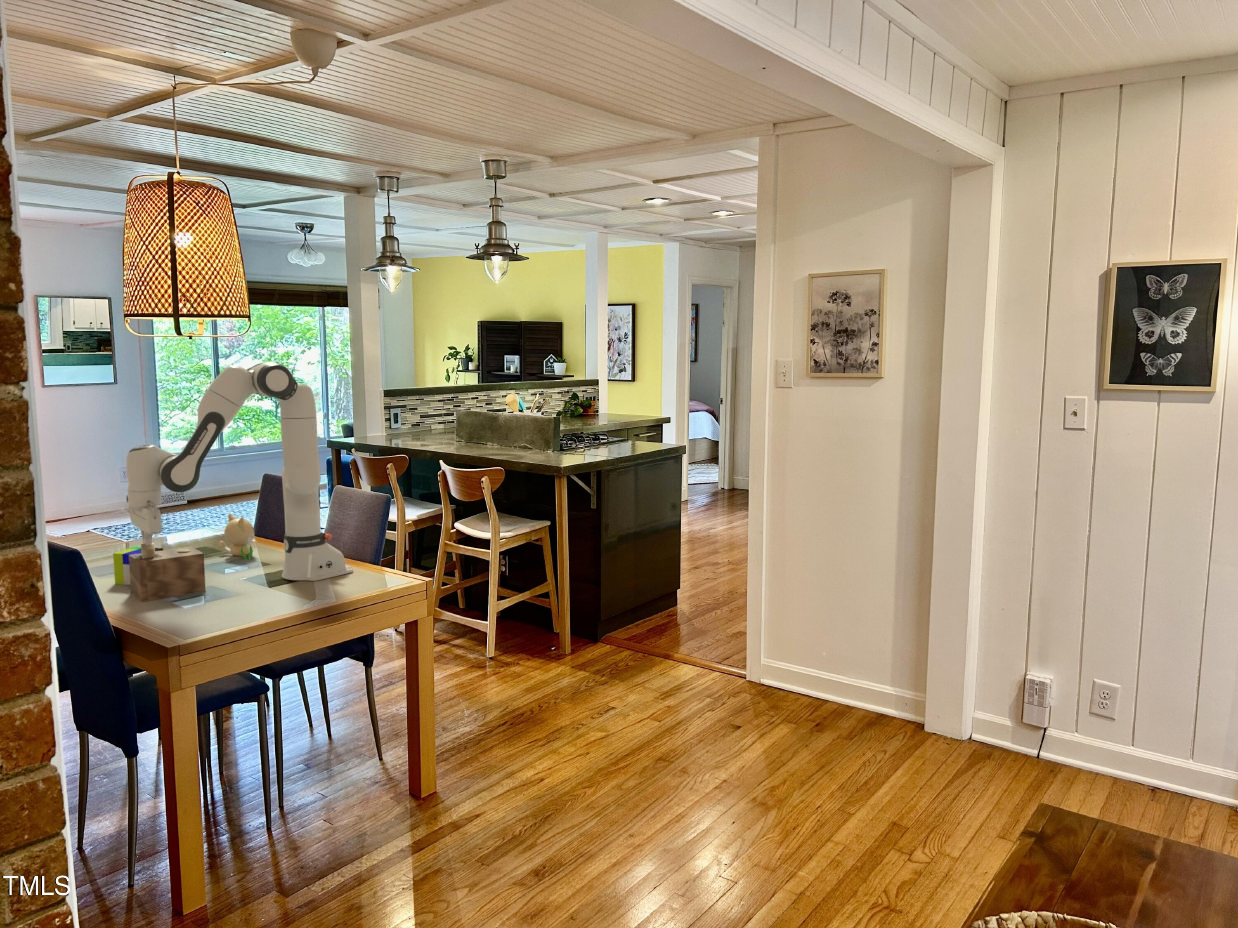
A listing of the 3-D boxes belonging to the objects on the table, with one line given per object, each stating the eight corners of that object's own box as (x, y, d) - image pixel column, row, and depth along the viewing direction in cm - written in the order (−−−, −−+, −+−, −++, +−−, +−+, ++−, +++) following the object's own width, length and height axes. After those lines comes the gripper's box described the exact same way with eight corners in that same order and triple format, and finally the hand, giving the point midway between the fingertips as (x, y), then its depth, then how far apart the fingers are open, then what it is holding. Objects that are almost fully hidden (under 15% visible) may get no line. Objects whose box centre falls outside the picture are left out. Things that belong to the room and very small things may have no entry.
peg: (154, 578, 269) (152, 542, 268) (158, 581, 267) (155, 544, 265) (141, 580, 267) (139, 543, 265) (145, 583, 264) (142, 546, 263)
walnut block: (193, 583, 281) (191, 545, 279) (205, 591, 272) (203, 552, 271) (131, 593, 269) (128, 553, 267) (141, 601, 260) (139, 561, 259)
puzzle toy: (142, 585, 277) (140, 555, 276) (115, 583, 279) (113, 553, 278) (164, 578, 287) (163, 548, 286) (138, 576, 289) (136, 546, 288)
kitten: (264, 556, 318) (262, 515, 316) (237, 561, 310) (235, 519, 308) (245, 549, 328) (243, 510, 326) (218, 554, 320) (216, 514, 318)
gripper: (166, 502, 258) (168, 548, 260) (147, 493, 273) (149, 537, 275) (142, 504, 254) (145, 551, 255) (124, 495, 269) (127, 539, 270)
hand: (147, 544), depth 265 cm, fingers closed, pressing on peg
